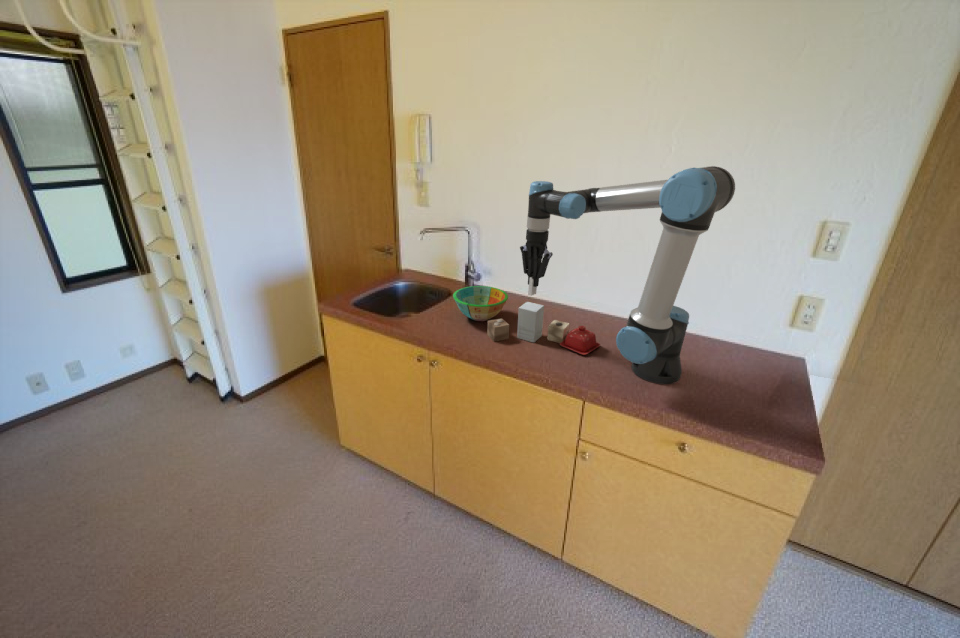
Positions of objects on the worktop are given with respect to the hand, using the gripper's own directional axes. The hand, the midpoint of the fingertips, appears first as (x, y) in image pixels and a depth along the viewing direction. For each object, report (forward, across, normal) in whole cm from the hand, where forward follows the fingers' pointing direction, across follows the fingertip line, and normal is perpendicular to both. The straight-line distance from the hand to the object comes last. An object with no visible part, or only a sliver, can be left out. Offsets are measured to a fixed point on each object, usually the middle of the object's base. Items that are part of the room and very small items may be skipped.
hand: (532, 294), depth 152 cm
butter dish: (+18, -18, -8) cm, 26 cm away
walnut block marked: (+18, +8, +9) cm, 21 cm away
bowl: (+18, +25, +2) cm, 30 cm away
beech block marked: (+17, -8, -7) cm, 21 cm away
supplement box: (+18, 0, 0) cm, 18 cm away
